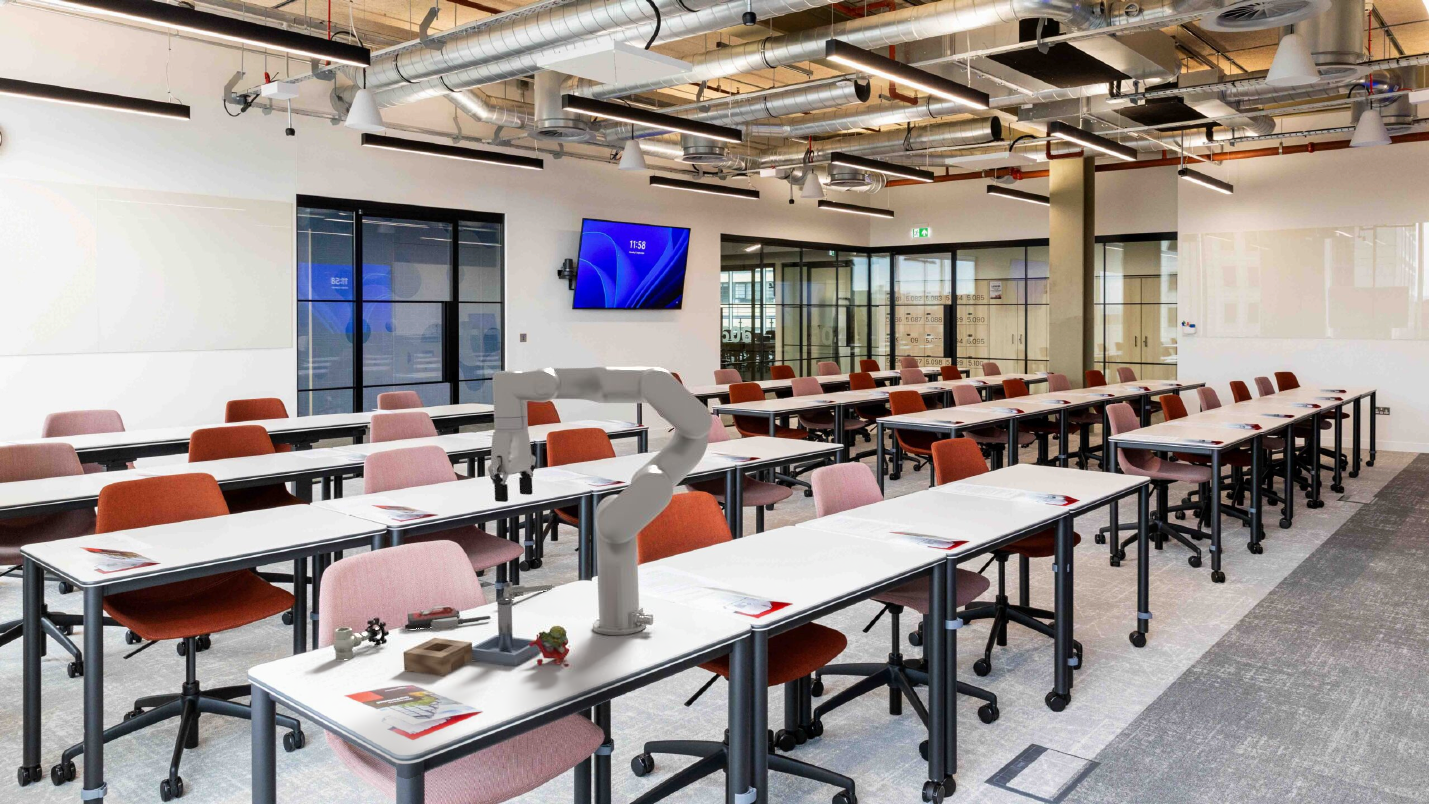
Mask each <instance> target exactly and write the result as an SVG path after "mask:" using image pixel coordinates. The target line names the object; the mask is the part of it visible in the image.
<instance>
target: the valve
mask: <svg viewBox="0 0 1429 804" xmlns="http://www.w3.org/2000/svg"><path fill="white" fill-rule="evenodd" d="M367 625H369V626H367V627H366V628H365V629H364V632H361V633H360V634H359V632H353V630H352V628H351V627H350V626H343V627H338V628H335V629H334V630H333V634H334V635H333V636H334V640H333V649H334V651H335V659H337V660H344V659H349V660H351V659H350V658H352V659H353V658H354V650H353V649H354V648H356V647H359V646H361V645H362V642H365V641H367V640H368V642H369V643H374V646H375V645H379V646H381V645H384V644H386V643H387V642H388V640H387V638H385V637H386V636H389V634H390V631H389V630H385V627H386V625H387V623H386V621H381V622H380V617H379V616H376V617H375V618H372V619H370V620H367ZM375 625H376V626H378V627H376V628H374V626H375ZM379 635H380V638H378V636H379ZM337 660H336V661H337Z"/></svg>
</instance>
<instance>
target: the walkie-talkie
mask: <svg viewBox="0 0 1429 804" xmlns="http://www.w3.org/2000/svg"><path fill="white" fill-rule="evenodd" d="M490 619H492V618H491V616H490V615H486V616H479V617H478V616H477V617H469V618H461V615H460V611H459V610H457V609H456V608H452V606H451V605H450V604H444V605H437V606H436V605H434V606H432V607H431V608H430V609H428V610H425V609H424V608H423V609H420V612H415V613H414V612H413V613H407V624H405V625H404V629H405V630H410V629H416V628H417V629H418V628H419V629H420V628H430V627H433V628H445V629H451V628H452V627H453V628H458V627H459V626H460V625H463V624H468V623H470V624H471V623H476V622H480V621H487V620H490ZM433 628H432V629H433ZM453 628H452V629H453ZM430 629H431V628H430Z"/></svg>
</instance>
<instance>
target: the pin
mask: <svg viewBox="0 0 1429 804" xmlns="http://www.w3.org/2000/svg"><path fill="white" fill-rule="evenodd" d="M496 602H497V603H496V604H497V627H498V628H497V629H498V631H497V632H498V634H497V635H498V636H499V651H500V652H507V653H513V636H514V635H513V608H512V607H513V606H512V605H513V604H512V598H510V597H503V596H502V597H499V598H497V599H496Z"/></svg>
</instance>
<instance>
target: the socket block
mask: <svg viewBox="0 0 1429 804" xmlns="http://www.w3.org/2000/svg"><path fill="white" fill-rule="evenodd" d="M472 647H473V642H471V641H469V642H468V641H464V640H457V639H456V640H455V639H448V638H440V637H433V638H431V639H429V640H427V641H425V642H422V643H420V644H418V645H416V646H414V647H412V648H409V649H407V650H405V651H403V670H405V672H411V671H415V672H414V673H419V674H425V675H426V674H427V675H433V676H438V675H439V677H444V676H445V675H448V674H450V673H452V672H454V671H455V670H456V671H457V669H459V668H461V667H463V666H465V665H467V664H469V663H471V662H474V661H473V655H472ZM406 670H407V671H406ZM453 670H454V671H453ZM451 671H452V672H451Z"/></svg>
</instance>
